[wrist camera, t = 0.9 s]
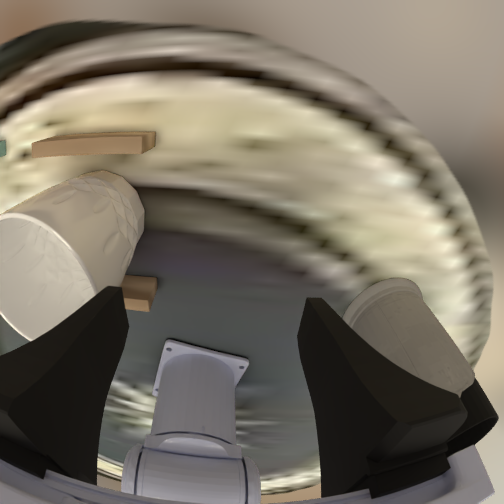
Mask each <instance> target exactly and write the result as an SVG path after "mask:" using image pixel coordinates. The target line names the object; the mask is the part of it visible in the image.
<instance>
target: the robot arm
mask: <svg viewBox="0 0 504 504" xmlns="http://www.w3.org/2000/svg"><path fill="white" fill-rule="evenodd" d="M128 329H129V324H128V319H127V314H126V308H125V303H124V297H123V291H122V287H117V286H107V287H105V288H104V289H103V290H101V291H100V292H99V293H97V294H96V295H95V296H94V297H93V298H91V299H90V300H89V301H88V302H86V303H85V304H84V305H83V306H81V307H80V308H79V309H78V310H76V311H75V312H74V313H73V314H71V315H70V316H68V317H67V318H66V319H64V320H63V321H62V322H60V323H59V324H58V325H56V326H55V327H54V328H52V329H51V330H49V331H48V332H46V333H44V334H43V335H41V336H39V337H38V338H36V339H34V340H33V341H31V342H29V343H27V344H25V345H23V346H21V347H19V348H17V349H15V350H13V351H11V352H8V353H6V354H4V355H1V356H0V504H260V501H261V483H260V475H259V471H258V468H257V466H256V464H255V463H254V462H253V461H252V460H251V458H249V457H242V452H241V446H240V445H236V421H235V387H236V385H237V384H238V382H239V380H240V379H241V377H242V375H243V374H244V372H245V370H246V369H247V367H248V365H249V360H248V359H246V358H242V357H237V356H233V355H229V354H224V353H220V352H216V351H212V350H208V349H204V348H200V347H196V346H193V345H189V344H185V343H181V342H178V341H174V340H170V339H169V340H166V342H165V345H164V349H163V352H162V356H161V360H160V364H159V368H158V371H157V375H156V379H155V383H154V387H153V391H152V394H153V395H154V396H155V397H157V400H156V405H155V411H154V416H153V422H152V428H151V434H150V435H146V438H145V444H144V445H141V444H136V445H135V446H134V447H133V448H131V449H130V450H129V451H128V453H127V455H126V458H125V462H124V466H123V472H122V484H121V485H122V486H121V492H120V491H115V490H111V489H107V488H103V487H99V486H97V458H98V447H99V437H100V430H101V423H102V417H103V412H104V407H105V402H106V398H107V395H108V391H109V388H110V385H111V383H112V380H113V377H114V374H115V371H116V369H117V366H118V363H119V361H120V358H121V355H122V352H123V350H124V346H125V342H126V338H127V334H128ZM297 338H298V346H299V354H300V359H301V363H302V367H303V371H304V374H305V378H306V381H307V385H308V389H309V392H310V396H311V400H312V404H313V408H314V413H315V420H316V427H317V435H318V444H319V455H320V469H321V498H318V499H311V500H303V501H294V502H285V503H272V504H479V503H481V502H483V501H484V500H486V499H487V498H489V497H490V496H492V495H493V494H494V492H495V491H494V489H493V486H492V483H491V481H490V479H489V476H488V474H487V471H486V469H485V467H484V465H483V462H482V460H481V458H480V456H479V453H478V451H477V449H476V447H475V445H472V446H470V447H467V448H465V449H463V450H461V451H459V452H457V453H455V454H453V455H451V456H449V457H448V458H447V457H446V455H445V452H446V451H447V450H448V446H447V444H446V440H448V439H449V438H450V437H451V436H452V435H453V434H454V433H455V432H456V431H457V430H458V429H459V428H460V427H461V425H462V424H463V423H464V422H465V420H466V418H467V414H468V412H467V410H466V409H465V407H464V405H463V403H462V401H461V399H460V398H459V396H458V394H455V393H453V392H450V391H447V390H445V389H442V388H440V387H437V386H435V385H432V384H430V383H428V382H426V381H424V380H422V379H420V378H418V377H416V376H414V375H413V374H411V373H409V372H407V371H406V370H404V369H402V368H401V367H399V366H398V365H396V364H395V363H393V362H392V361H390V360H389V359H387V358H386V357H385V356H383V355H382V354H381V353H379V352H378V351H377V350H375V349H374V348H373V347H372V346H371V345H369V344H368V343H367V342H366V341H365V340H364V339H363V338H361V337H360V336H359V335H358V334H357V333H356V332H355V331H354V330H353V329H352V328H351V327H350V326H349V325H348V324H347V323H346V322H345V321H344V320H343V319H342V318H341V317H340V316H339V315H338V314H337V313H336V312H335V311H334V310H333V309H332V308H331V307H330V306H329V305H328V304H327V303H326V302H325V301H324V300H323V299H322V298H307V299H306V303H305V307H304V311H303V315H302V319H301V323H300V327H299V331H298V335H297ZM170 348H171V349H170Z"/></svg>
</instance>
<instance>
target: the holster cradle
mask: <svg viewBox="0 0 504 504" xmlns="http://www.w3.org/2000/svg"><path fill="white" fill-rule="evenodd" d="M155 133H156V132H108V133H89V134H75V135H63V136H54V137H50V138H47V139H43V140H40V141H37V142H34V143H32V158H38V157H51V156H67V155H89V154H142V153H144V152H146V151H148V150H150V149H151V148H153V147H155ZM120 287H122V291H123V297H124V303H125V308H126V309H129V310H138V311H147V312H149V311H150V308H151V305H152V302H153V300H154V297H155V294H156V291H157V278H155V277H144V276H133V275H125V276H124V279H123V281H122V283H121V285H120Z"/></svg>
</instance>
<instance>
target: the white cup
mask: <svg viewBox="0 0 504 504" xmlns="http://www.w3.org/2000/svg"><path fill="white" fill-rule="evenodd" d="M144 214H145V210H144V208H143V205H142V203H141V200H140V198H139V195H138V193H137V191H136V190H135V189H134V188H133V187H132V186H131V185H130V184H129V183H128V182H127V181H126V180H125V179H124V178H123V177H122V176H119V175H116V174H113V173H110V172H107V171H104V170H101V171H96V172H90V173H85V174H83V175H81V176H78V177H76V178H73V179H70V180H67V181H64V182H62V183H60V184H58V185H55V186H53V187H51V188H48V189H46V190H44V191H42V192H40V193H38V194H36V195H35V196H33V197H31V198H29V199H27V200H25V201H23V202H21V203H20V204H18V205H16V206H14V207H12V208H11V209H9V210H7V211H5V212H4V213H2V214H0V314H1V316H2V317H3V318H4V319H5V320H6V321H7V322H8V324H9V325H10V326H12V327H13V328H14V329H15V330H16V331H17V332H18V333H20V334H21V335H22V336H23V337H25V338H26V339H28V340H30V341H33V340H34V339H36V338H38V337H39V336H41V335H43V334H44V333H46V332H48V331H49V330H51V329H52V328H54V327H55V326H56V325H58V324H59V323H60V322H62V321H63V320H64V319H66V318H67V317H68V316H70V315H71V314H73V313H74V312H75V311H76V310H78V309H79V308H80V307H81V306H83V305H84V304H85V303H86V302H88V301H89V300H90V299H91V298H93V297H94V296H95V295H96V294H97V293H99V292H100V291H101V290H103V289H104V288H105V287H107V286H117V287H120V285H121V283H122V281H123V279H124V276H125V273H126V271H127V269H128V267H129V264H130V262H131V259H132V257H133V254H134V250H135V247H136V245H137V243H138V241H139V239H140V237H141V235H142V233H143V231H144Z"/></svg>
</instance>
